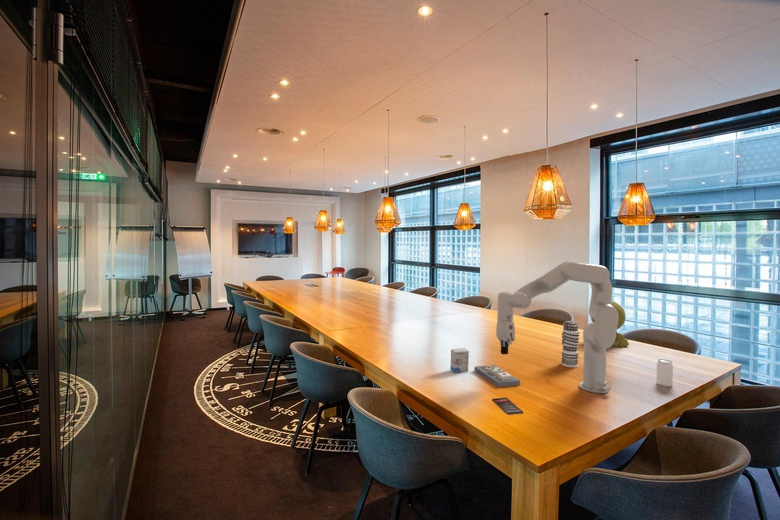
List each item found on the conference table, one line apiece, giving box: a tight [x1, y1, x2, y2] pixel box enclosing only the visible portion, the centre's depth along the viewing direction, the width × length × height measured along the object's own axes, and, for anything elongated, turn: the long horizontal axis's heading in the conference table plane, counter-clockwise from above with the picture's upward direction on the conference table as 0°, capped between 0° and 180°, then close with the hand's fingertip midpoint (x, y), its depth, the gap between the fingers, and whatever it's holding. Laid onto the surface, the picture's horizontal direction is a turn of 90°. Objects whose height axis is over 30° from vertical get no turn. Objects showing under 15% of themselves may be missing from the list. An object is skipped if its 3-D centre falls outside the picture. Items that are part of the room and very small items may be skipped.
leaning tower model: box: [561, 320, 580, 368], centre depth 216 cm, size 9×9×25 cm
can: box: [655, 358, 674, 388], centre depth 187 cm, size 6×6×12 cm
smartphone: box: [491, 397, 524, 416], centre depth 162 cm, size 7×1×15 cm
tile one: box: [497, 371, 513, 381], centre depth 188 cm, size 5×5×3 cm
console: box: [474, 364, 521, 388], centre depth 195 cm, size 24×12×2 cm, turn 16°
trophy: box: [590, 300, 630, 348], centre depth 263 cm, size 22×22×30 cm
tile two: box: [489, 366, 504, 376], centre depth 195 cm, size 5×5×3 cm
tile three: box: [481, 365, 494, 371], centre depth 203 cm, size 5×5×3 cm
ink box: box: [450, 347, 470, 374], centre depth 205 cm, size 8×5×12 cm, turn 105°
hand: (504, 353), depth 188 cm, fingers closed
